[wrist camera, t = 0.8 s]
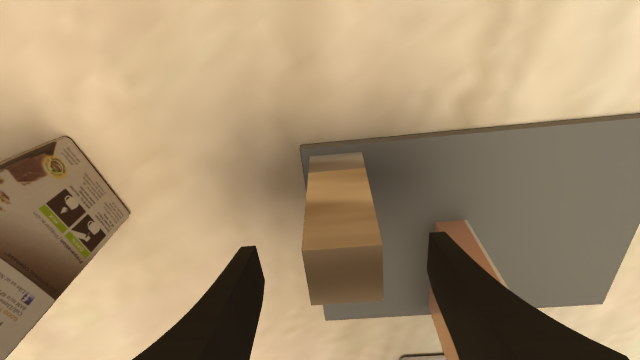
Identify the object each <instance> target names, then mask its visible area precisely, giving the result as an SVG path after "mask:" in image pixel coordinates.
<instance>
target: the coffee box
mask: <svg viewBox="0 0 640 360" xmlns="http://www.w3.org/2000/svg"><path fill="white" fill-rule="evenodd" d="M128 217H129V212H128V211H127V210H126V208H125V207H124V206H123V205H122V203H121V202H120V201H119V199H118V198H117V197H116V196H115V194H114V193H113V192H112V191H111V190H110V188H109V187H108V186H107V184H106V183H105V182H104V181H103V179H102V178H101V177H100V175H99V174H98V173H97V172H96V170H95V169H94V168H93V167H92V165H91V164H90V163H89V162H88V160H87V159H86V158H85V157H84V155H83V154H82V153H81V152H80V150H79V149H78V148H77V146H76V145H75V144H74V143H73V141H72V140H71V139H69V138H67V137H61V138H58V139H55V140H53V141H50V142H48V143H45V144H43V145H40V146H38V147H36V148H33V149H31V150H28V151H26V152H24V153H21V154H19V155H16V156H14V157H12V158H9V159H7V160H4V161H2V162H0V360H5V359H6V358H7V357H8V355H9V354H10V353H11V352H12V351H13V350H14V349H15V348H16V347H17V345H18V344H19V343H20V341H21V340H22V339H23V338H24V337H25V336H26V334H27V333H28V332H29V331H30V330H31V329H32V328H33V327H34V326H35V324H36V323H37V322H38V321H39V320H40V319H41V318H42V316H43V315H44V314H45V313H46V312H47V311H48V309H49V308H50V307H51V306H52V305H53V303H54V302H55V301H56V300H57V298H58V297H59V296H60V295H61V294H62V293H63V292H64V290H65V289H66V288H67V287H68V286H69V285H70V284H71V282H72V281H73V280H74V279H75V278H76V277H77V275H78V274H79V273H80V272H81V271H82V270H83V268H84V267H85V266H86V265H87V264H88V263H89V262H90V261H91V260H92V258H93V257H94V256H95V255H96V254H97V252H98V251H99V250H100V249H101V248H102V247H103V245H104V244H105V243H106V242H107V241H108V240H109V238H110V237H111V236H112V235H113V234H114V233H115V232H116V230H117V229H118V228H119V227H120V226H121V225H122V224H123V223H124V221H125V220H126V219H127V218H128Z"/></svg>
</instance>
